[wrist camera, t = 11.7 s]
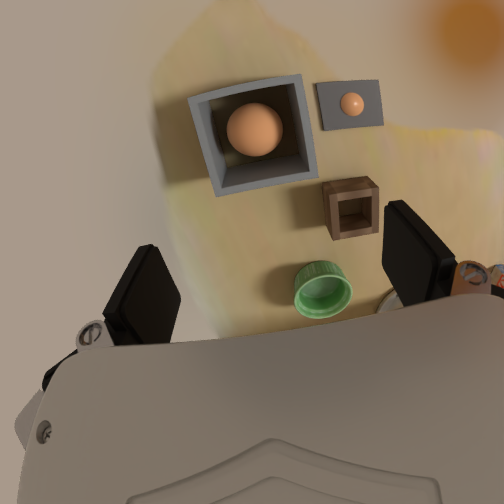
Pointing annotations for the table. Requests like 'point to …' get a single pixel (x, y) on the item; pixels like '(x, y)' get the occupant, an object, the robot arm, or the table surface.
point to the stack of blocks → (498, 276)
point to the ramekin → (321, 290)
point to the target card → (350, 104)
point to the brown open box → (356, 222)
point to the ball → (254, 129)
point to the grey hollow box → (260, 171)
